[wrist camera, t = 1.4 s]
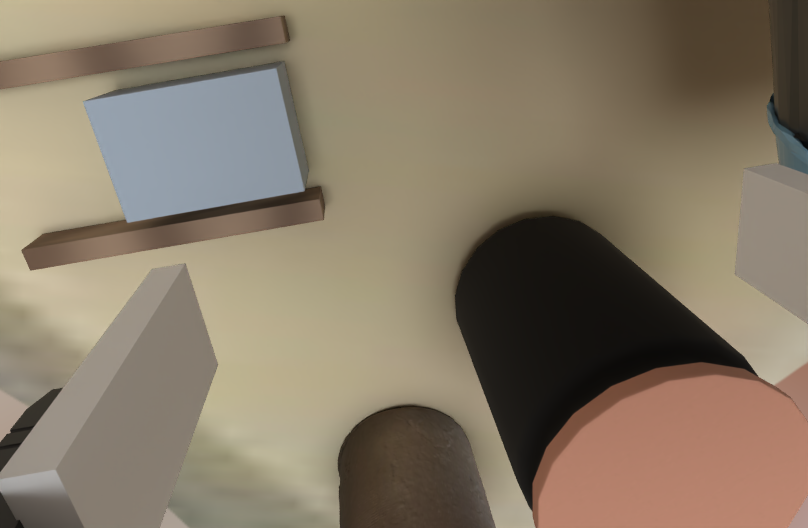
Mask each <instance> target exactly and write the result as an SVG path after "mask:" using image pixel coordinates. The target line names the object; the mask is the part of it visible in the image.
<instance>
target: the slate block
mask: <svg viewBox="0 0 808 528" xmlns="http://www.w3.org/2000/svg"><path fill="white" fill-rule="evenodd" d="M83 103H84V106H85V109H86V112H87V114H88V117H89V120H90V122H91V125H92V128H93V131H94V133H95V136H96V139H97V142H98V144H99V147H100V150H101V153H102V155H103V158H104V161H105V163H106V166H107V169H108V172H109V174H110V177H111V180H112V183H113V185H114V188H115V191H116V193H117V196H118V199H119V202H120V204H121V207H122V210H123V213H124V215H125V218H126V221H127V223H129V222H135V221H140V220H146V219H152V218H157V217H163V216H168V215H174V214H180V213H185V212H191V211H196V210H202V209H208V208H213V207H219V206H224V205H230V204H236V203H241V202H247V201H252V200H258V199H264V198H269V197H275V196H280V195H286V194H292V193H297V192H303V191H305V187H306V182H307V177H308V172H309V169H308V165H307V160H306V156H305V151H304V147H303V142H302V138H301V134H300V129H299V125H298V120H297V116H296V111H295V107H294V102H293V98H292V94H291V89H290V85H289V80H288V76H287V71H286V67H285V63H284V61H282V62H276V63H271V64H265V65H259V66H253V67H247V68H241V69H236V70H230V71H224V72H218V73H212V74H207V75H201V76H195V77H189V78H183V79H177V80H172V81H166V82H160V83H154V84H148V85H143V86H137V87H131V88H125V89H119V90H114V91H112V92H109V93H106V94H103V95H100V96H97V97H95V98H92V99H89V100H86V101H83Z"/></svg>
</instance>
